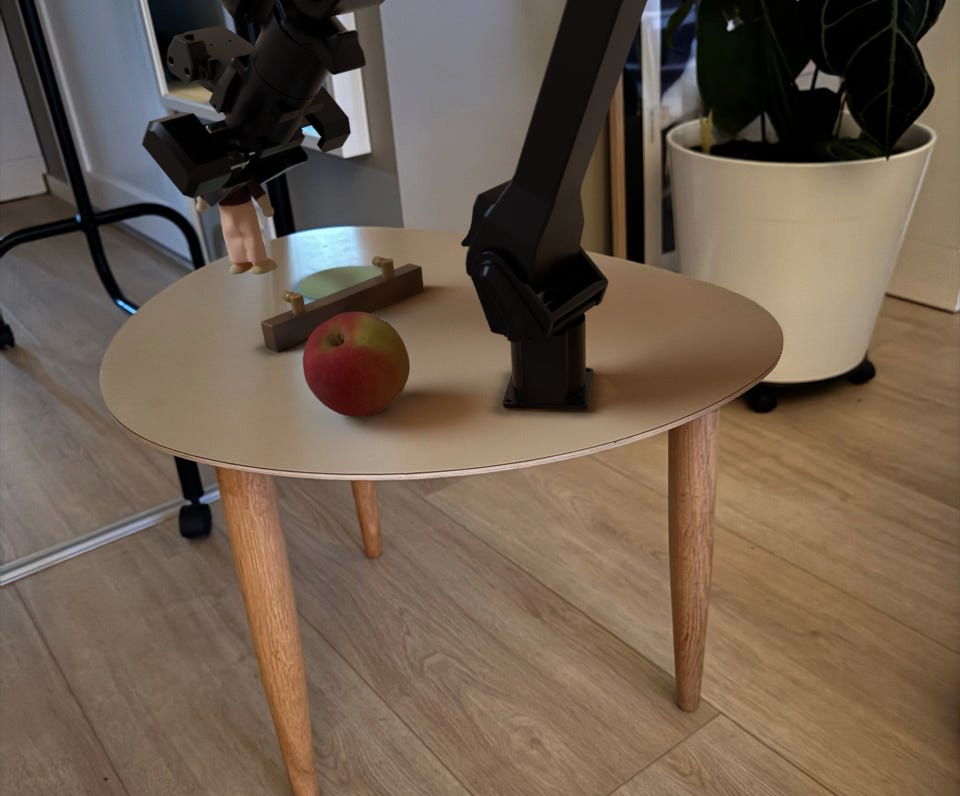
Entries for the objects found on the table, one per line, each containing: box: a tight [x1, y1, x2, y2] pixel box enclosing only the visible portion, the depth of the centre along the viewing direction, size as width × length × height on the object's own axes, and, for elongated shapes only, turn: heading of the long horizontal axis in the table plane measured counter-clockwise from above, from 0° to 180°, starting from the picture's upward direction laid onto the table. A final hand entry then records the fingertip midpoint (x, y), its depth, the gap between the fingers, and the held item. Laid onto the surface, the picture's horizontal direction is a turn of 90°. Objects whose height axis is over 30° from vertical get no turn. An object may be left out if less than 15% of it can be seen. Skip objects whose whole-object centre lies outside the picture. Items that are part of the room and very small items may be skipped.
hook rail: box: [260, 255, 425, 353], centre depth 92 cm, size 19×13×4 cm
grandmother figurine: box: [195, 173, 279, 275], centre depth 85 cm, size 8×4×13 cm, turn 84°
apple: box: [302, 312, 411, 418], centre depth 71 cm, size 8×8×8 cm
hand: (222, 197), depth 85 cm, fingers closed on grandmother figurine, 3 cm apart
